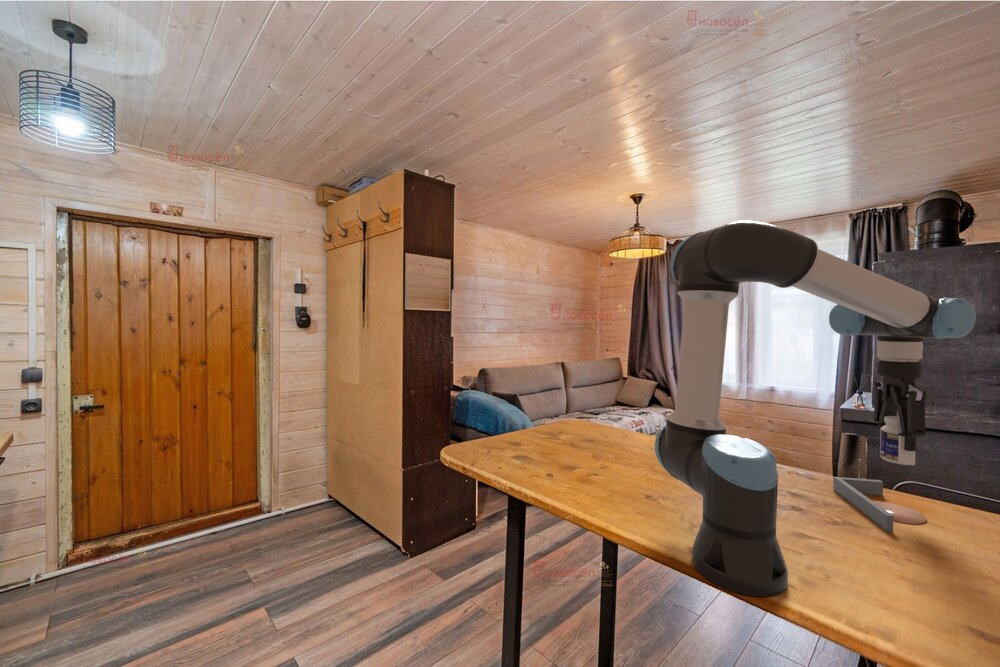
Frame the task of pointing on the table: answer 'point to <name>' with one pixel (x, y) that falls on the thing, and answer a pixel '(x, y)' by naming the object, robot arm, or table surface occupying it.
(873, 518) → the low walls
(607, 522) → the table surface
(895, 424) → the pill bottle
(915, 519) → the pad
